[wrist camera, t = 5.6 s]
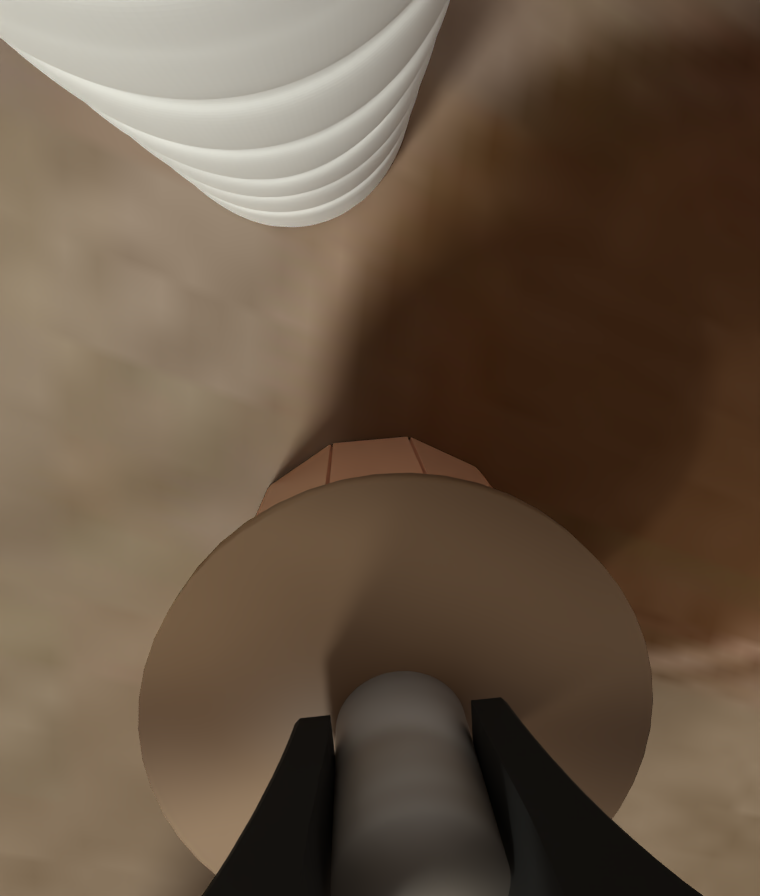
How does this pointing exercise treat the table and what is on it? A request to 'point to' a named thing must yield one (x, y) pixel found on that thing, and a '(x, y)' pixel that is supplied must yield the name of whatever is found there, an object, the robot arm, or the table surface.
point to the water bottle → (245, 89)
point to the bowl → (368, 466)
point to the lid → (392, 674)
